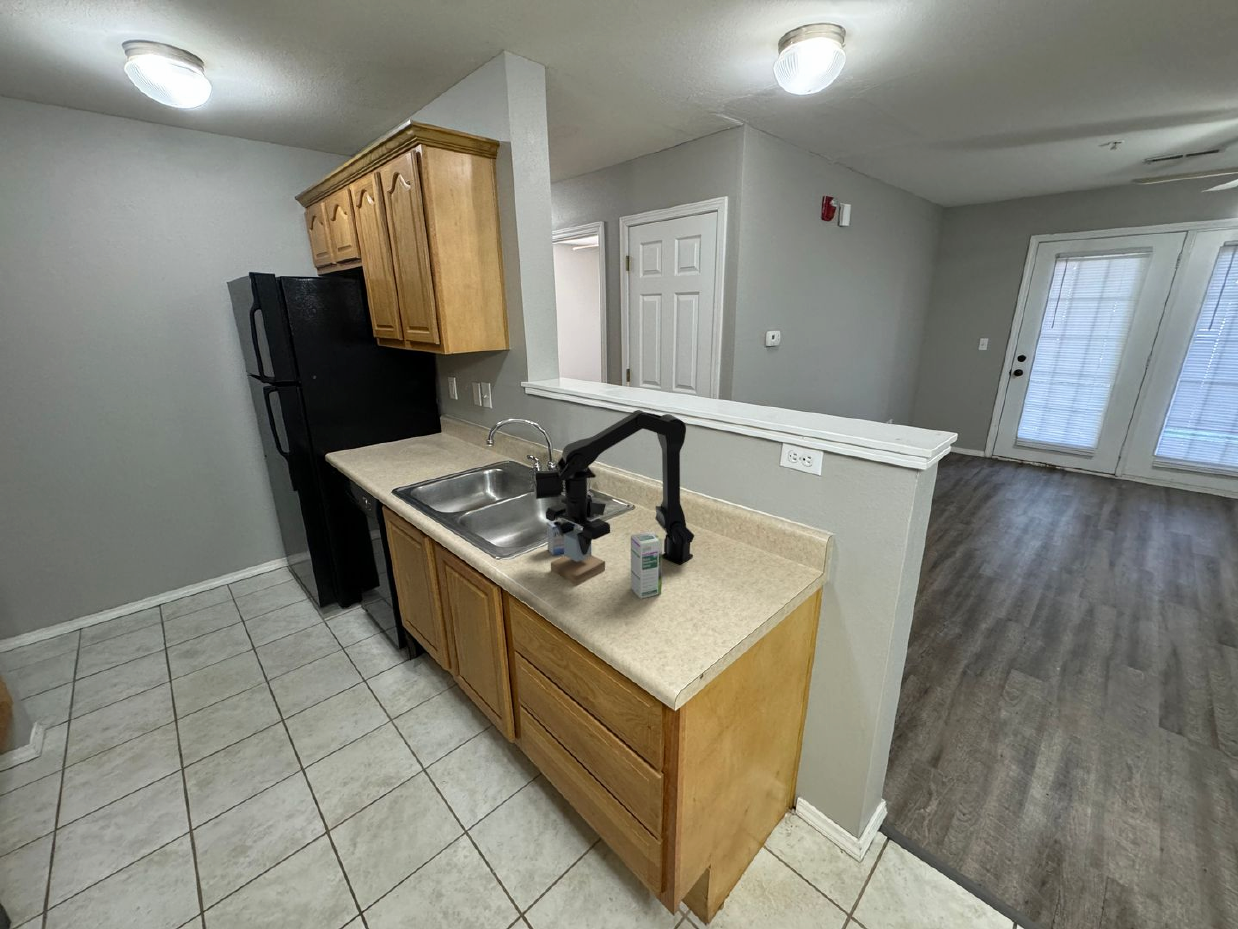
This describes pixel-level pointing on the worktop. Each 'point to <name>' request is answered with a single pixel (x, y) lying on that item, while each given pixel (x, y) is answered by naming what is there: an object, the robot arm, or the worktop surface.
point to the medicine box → (555, 538)
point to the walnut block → (577, 568)
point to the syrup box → (646, 564)
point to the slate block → (574, 546)
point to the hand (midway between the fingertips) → (577, 551)
